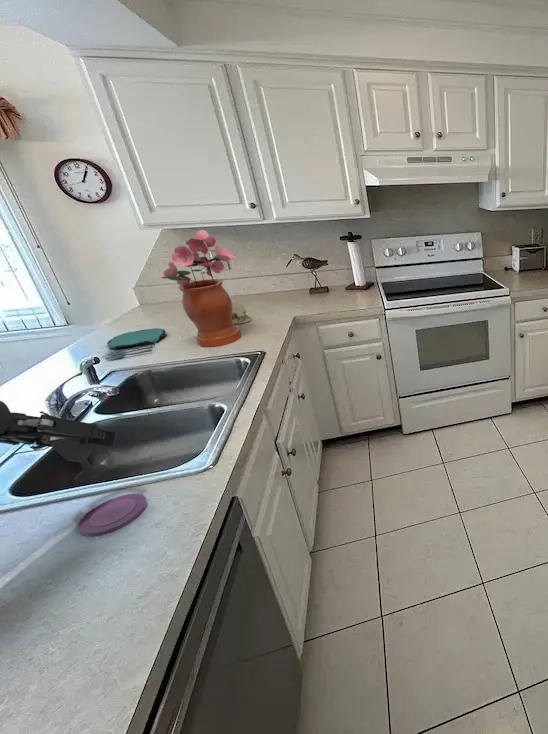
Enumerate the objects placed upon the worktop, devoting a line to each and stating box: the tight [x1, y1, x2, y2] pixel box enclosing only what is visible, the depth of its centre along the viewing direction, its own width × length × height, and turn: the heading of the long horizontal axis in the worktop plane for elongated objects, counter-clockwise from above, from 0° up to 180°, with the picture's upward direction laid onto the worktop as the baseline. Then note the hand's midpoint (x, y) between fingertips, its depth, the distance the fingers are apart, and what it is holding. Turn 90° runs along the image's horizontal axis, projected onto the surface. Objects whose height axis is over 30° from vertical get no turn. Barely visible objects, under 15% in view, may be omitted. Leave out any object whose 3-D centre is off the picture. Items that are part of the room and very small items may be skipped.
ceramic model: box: [232, 301, 253, 325], centre depth 194 cm, size 14×11×10 cm
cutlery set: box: [104, 327, 166, 361], centre depth 173 cm, size 20×30×2 cm, turn 28°
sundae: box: [38, 410, 108, 483], centre depth 79 cm, size 7×7×15 cm
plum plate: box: [77, 493, 148, 537], centre depth 87 cm, size 11×11×1 cm
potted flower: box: [160, 229, 242, 348], centre depth 166 cm, size 19×25×45 cm
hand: (92, 440), depth 83 cm, fingers closed on sundae, 7 cm apart
